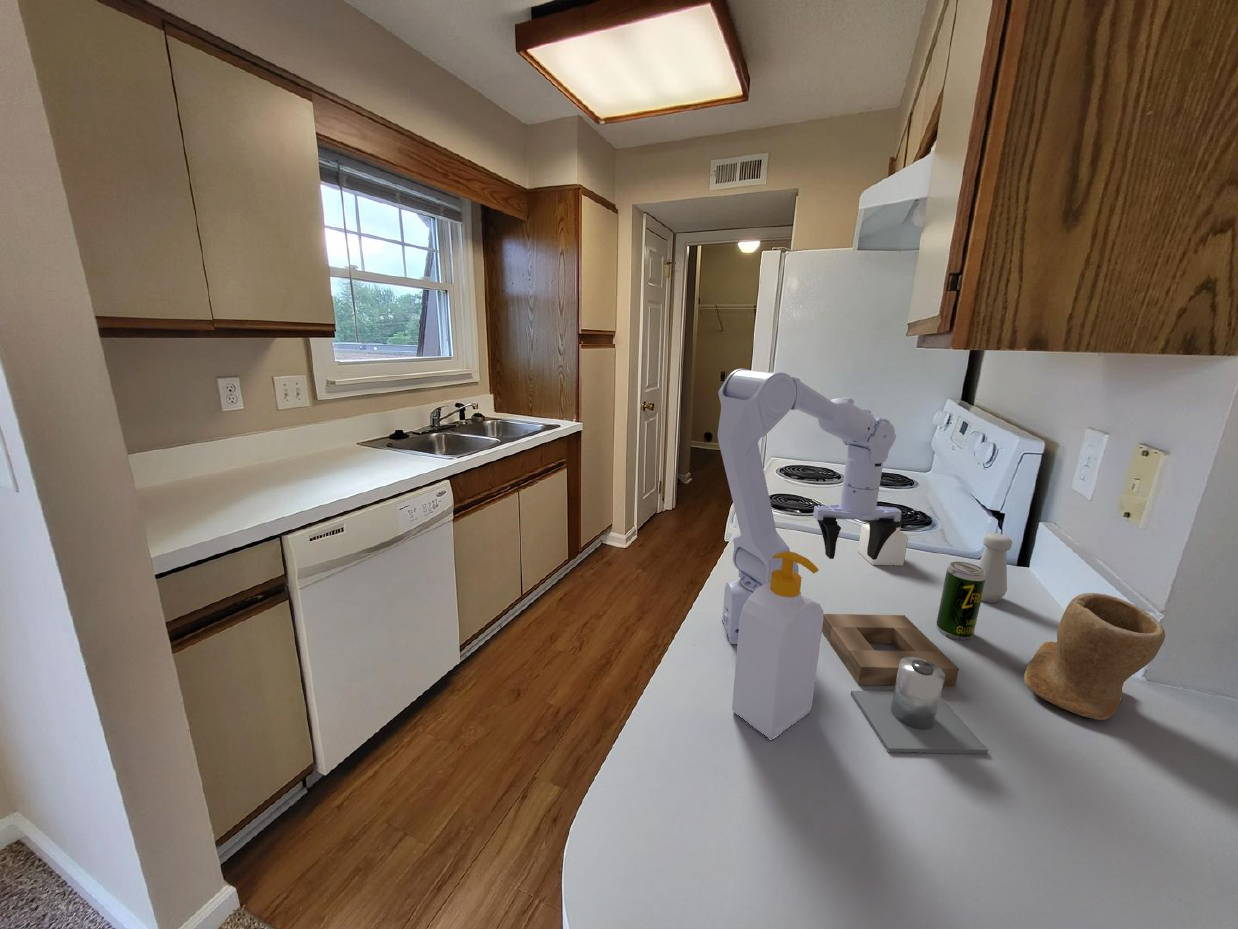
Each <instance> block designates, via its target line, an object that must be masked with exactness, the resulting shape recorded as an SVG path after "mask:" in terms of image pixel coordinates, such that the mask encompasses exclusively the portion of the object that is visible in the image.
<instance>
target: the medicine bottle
mask: <svg viewBox="0 0 1238 929" xmlns="http://www.w3.org/2000/svg"><path fill="white" fill-rule="evenodd" d="M902 521H903V513H902V512H901V518H900V522H898V521H893V523H895V524H896V525H897V528H896V531H895V532H894V533H893V534H892V535H891V536H890V537H889V538H888V539H887V541H886V542H885V544H884V545H883V547H882V549H881V551H880V553H879V555H878V557H877V559H876V560H873V559H872V558H870V557H869V556H868V555H867V548H868V542H869V533H870V526H869V523H866V524H865V523H864V524H861V528H860V534H859V535H860V536H859V541H858V547H857V549H858V550H857V553H859V554H860V555H861V556H862V557H863V558H864V559H865V560H866V561H867V562H868V563H869V564H870V565H872V566H893V565H894V566H895V567H897V566H898V567H899V566H902V567H903V566H904V563H905V557H906V552H907V547H908V540H909V536H908V535H907V534H906V533H904V532H902V531H901V527H902Z"/></svg>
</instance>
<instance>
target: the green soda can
mask: <svg viewBox="0 0 1238 929" xmlns="http://www.w3.org/2000/svg"><path fill="white" fill-rule="evenodd" d="M945 573H946V574H945V577H944V583H943V586H942V593H941V598H940V601H939V609H938V612H937V618H936V627H937V630H938V631H939V632H940V633H942V634H943V635H945V636H946V637H948V638H952V639H955V640H959V641H965V640H966V641H967V640H969V639H971V638H972V637H973V636H974V634H975V630H976V626H977V625H976V624H977V621H978V616H979V613H980V612H979V611H980V607H981V603H982V601H981V599H982V594H983V590H984V585H985V581H986V577H985V570H984V569H983V568H981V567H979V566H978V564H974V563H971V562H965V561H952V562H951V561H950V562H949V566H948V567H947V568H946V572H945Z"/></svg>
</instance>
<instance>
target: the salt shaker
mask: <svg viewBox="0 0 1238 929" xmlns="http://www.w3.org/2000/svg"><path fill="white" fill-rule="evenodd" d="M982 541H983V543H982V544H983V546H985V549H984V551H983V553H982V555H981V557H980V560H979V562H978V564H977V566H979V567H981V568H983V569H984V570H985V577H986V581H985V585H984V590H983V594H982V599H981V602H983V603H984V602H985V603H990V604H991V603H992V604H995V603H997V602H999V601H1000V600H1001V599H1002V598H1003V597H1004V596H1005V595H1006V593H1007V590H1008V576H1007V575H1008V574H1007V572H1008V569H1007V564H1008V563H1007V562H1008V560H1007V551H1010V550H1011V548H1012V546H1013V540H1012V539H1011V538H1010V537H1009V536H1007V535H1004V534H1001V533H995V532H989V533H986V534H985V535H984V538H983V540H982Z"/></svg>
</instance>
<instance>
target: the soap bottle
mask: <svg viewBox="0 0 1238 929" xmlns="http://www.w3.org/2000/svg"><path fill="white" fill-rule="evenodd" d="M775 558H783V560H782V569H781V570H774V571H773V572H772V574H771V583H767V584H764V585H762V586H761V587H759V588H758V589H756V590H755V591H754V592H753V593H752V594H751V596H750V597H749V598H748V599H747V601H746V603H745V605H744V607H743V609H742V612H741V616H740V620H739V632H738V643H737V644H736V658H735V667H734V669H735V670H734V679H733V691H732V704H731V710H732V712H733V711H734V712H735V713H737V714H738V715H739V716H740V717H742V718H743V719H744V720H746V721H747V722H748V723H749V724H751V725H752V726H753V727H755V728H756V729H757V730H759V731H760V732H761V733H762V734H764V735H765V736H767V737H768V738H769V739H773V738H774V737H775V736H777V735H779V734H780V733H782V732H783V731H784V730H786V729H787V728H788V729H789V727H790V726H791V725H792V726H793V724H794V725H795V724H796V723H797V721H798V722H799V721H800V720H802V719H803V718H804V717H805V715H806V716H807V715H809V713H810V712H811V711H812V707H813V699H814V692H815V684H816V679H817V678H816V676H817V671H818V670H817V669H818V663H819V656H820V655H819V654H820V648H821V647H820V646H821V641H822V640H821V638H822V634H823V633H822V626H823V614H824V610H823V608H822V606H821V604H820V603H819V602H817V601H815V600H813V599H811V598H808V597H807V596H803V595H802V592H801V585H802V576H801V575H800V574H799V573H798V574H797V573H796V572H793V562H796V563H797V564H798V565H801V566H803V567H804V568H806V569H807V570H808V571H810V572H811V573H812V574H816V573H818V572H819V570H820V569H819V568H818V567H817V566H816V565H815V563H813V562H812V561H811V560H810V559H808V558H807V557H805V556H804V555H801V554H799V553H798V552H797V553H796V552H794V551H791V550H790V551H785V552H781V553H779V554H776V555H774V556H773V559H775ZM734 712H733V713H734ZM735 713H734V714H735ZM738 715H737V716H738ZM739 716H738V717H739ZM740 717H739V718H740ZM801 718H802V719H801ZM743 719H742V720H743ZM744 720H743V721H744ZM747 722H746V723H747ZM748 723H747V724H748ZM749 724H748V725H749ZM751 725H750V726H751ZM752 726H751V727H752ZM792 726H791V727H792ZM753 727H752V728H753ZM791 727H790V728H791ZM755 728H754V729H755ZM756 729H755V730H756ZM788 729H787V730H788ZM757 730H756V731H757ZM787 730H786V731H787ZM760 732H759V733H760ZM784 732H785V731H784ZM784 732H783V733H784ZM761 733H760V734H761ZM783 733H782V734H783ZM762 734H761V735H762ZM764 735H763V736H764ZM780 735H781V734H780ZM780 735H779V736H780ZM765 736H764V737H765ZM768 738H767V739H768ZM769 739H768V740H769Z"/></svg>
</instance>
